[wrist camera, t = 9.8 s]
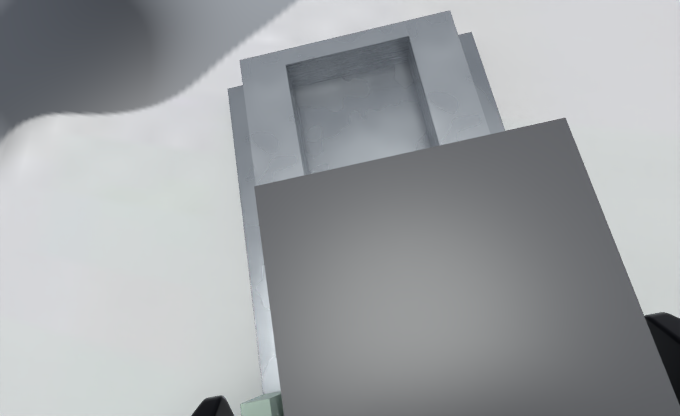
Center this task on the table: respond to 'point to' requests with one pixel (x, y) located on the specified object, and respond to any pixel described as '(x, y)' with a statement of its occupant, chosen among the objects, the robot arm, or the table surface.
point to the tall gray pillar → (456, 287)
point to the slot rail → (350, 118)
